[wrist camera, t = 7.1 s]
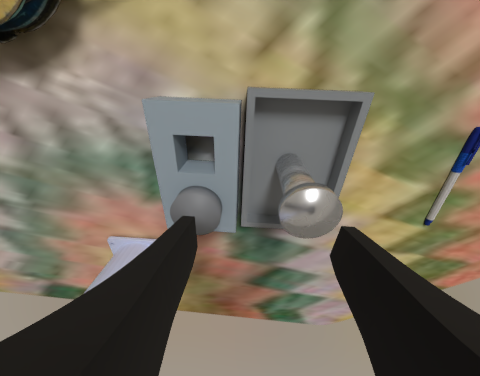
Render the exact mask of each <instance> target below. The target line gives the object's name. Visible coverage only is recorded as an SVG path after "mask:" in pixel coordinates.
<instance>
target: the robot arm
mask: <svg viewBox="0 0 480 376" xmlns="http://www.w3.org/2000/svg"><path fill="white" fill-rule="evenodd" d="M107 240H108V243H109V245H110V248H111V250H112V252H113V255H114V256H113V257H112V258H111V260H110V261H109V262H108V263H107V265H106V266H105V267H104V268H103V270H102V271H101V272H100V274H99V275H98V276H97V277H96V279H95V280H94V281H93V282H92V284H91V285H90V286H89V287H88V289H87V290H86V291H85V292H84V294H83V295H81V296H79V297H78V298H76V299H75V300H73V301H72V302H70V303H68V304H67V305H65V306H63V307H62V308H60V309H58V310H57V311H55V312H53V313H51V314H50V315H48V316H46V317H45V318H43V319H41V320H39V321H38V322H36V323H34V324H32V325H30V326H29V327H27V328H25V329H23V330H21V331H19V332H18V333H16V334H14V335H12V336H10V337H8V338H6V339H5V340H3V341H1V342H0V376H158V375H159V371H160V367H161V364H162V360H163V356H164V352H165V348H166V344H167V341H168V337H169V333H170V330H171V326H172V323H173V320H174V317H175V314H176V311H177V308H178V305H179V303H180V300H181V297H182V294H183V292H184V289H185V286H186V283H187V281H188V278H189V275H190V272H191V270H192V267H193V263H194V259H195V255H196V251H197V235H196V224H195V216H182V217H180V218H179V219H178V220H177V221H176V222H175V223H174V224H173V225H172V226H171V227H170V228H169V229H168V230H167V231H165V232H164V233H163V234H162V235H161V236H160V237H159V238H158V239H145V238H130V237H114V236H110V237H109V238H108V239H107ZM330 258H331V262H332V266H333V269H334V272H335V275H336V278H337V280H338V282H339V285H340V287H341V289H342V292H343V294H344V296H345V298H346V301H347V303H348V305H349V307H350V310H351V312H352V314H353V316H354V319H355V321H356V323H357V325H358V328H359V330H360V333H361V335H362V338H363V340H364V343H365V346H366V349H367V352H368V355H369V358H370V361H371V364H372V367H373V370H374V373H375V376H480V315H479V314H478V313H476V312H474V311H473V310H471V309H470V308H468V307H466V306H465V305H463V304H462V303H460V302H459V301H457V300H455V299H454V298H452V297H451V296H449V295H448V294H446V293H445V292H443V291H442V290H440V289H439V288H437V287H436V286H434V285H433V284H431V283H430V282H428V281H427V280H425V279H424V278H423V277H421V276H420V275H418V274H417V273H415V272H414V271H413V270H411V269H410V268H408V267H407V266H406V265H404V264H403V263H402V262H400V261H399V260H398V259H396V258H395V257H394V256H392V255H391V254H390V253H388V252H387V251H386V250H384V249H383V248H382V247H380V246H379V245H378V244H377V243H375V242H374V241H373V240H371V239H370V238H369V237H367V236H366V235H365V234H363V233H362V232H361V231H359V230H358V229H356V228H355V227H345V226H341V229H340V231H339V234H338V236H337V239H336V241H335V244H334V246H333V249H332V251H331V254H330Z"/></svg>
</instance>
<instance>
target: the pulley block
mask: <svg viewBox="0 0 480 376" xmlns="http://www.w3.org/2000/svg"><path fill="white" fill-rule="evenodd" d="M60 1H61V0H0V42H1V43H6V42H9V41H11V40H13V39H15V38H16V37H17V35H15V31H17V32H19V33H21V32H24V33H25V32H29V31H33V30H36V29H38V28H39V27H41V26H42V25H44V24H45V23H46V22H47V21H48V20H49V19H50V17H51V16H52V15H53V14H54V13H55V11H56V9H57V7H58V5H59V3H60Z"/></svg>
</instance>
